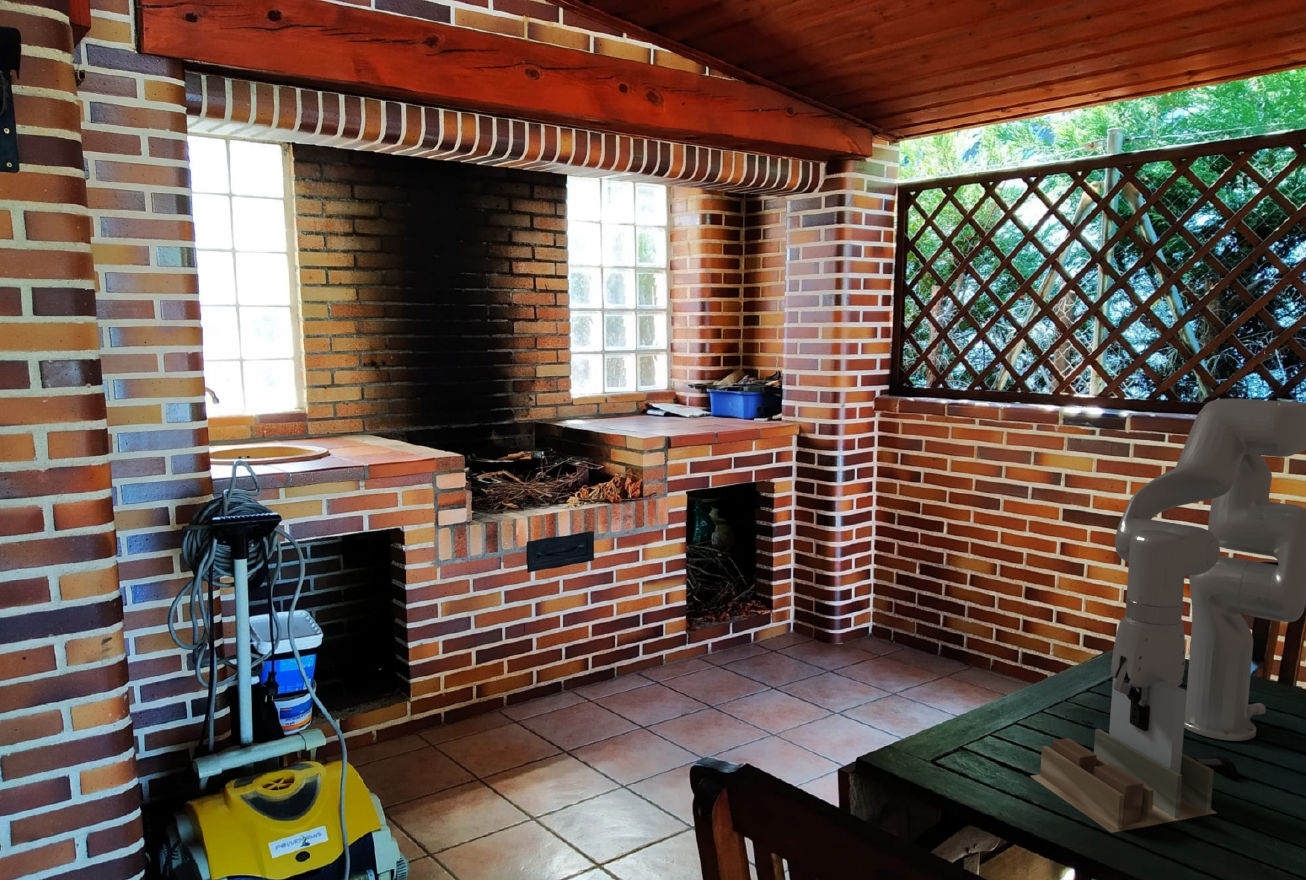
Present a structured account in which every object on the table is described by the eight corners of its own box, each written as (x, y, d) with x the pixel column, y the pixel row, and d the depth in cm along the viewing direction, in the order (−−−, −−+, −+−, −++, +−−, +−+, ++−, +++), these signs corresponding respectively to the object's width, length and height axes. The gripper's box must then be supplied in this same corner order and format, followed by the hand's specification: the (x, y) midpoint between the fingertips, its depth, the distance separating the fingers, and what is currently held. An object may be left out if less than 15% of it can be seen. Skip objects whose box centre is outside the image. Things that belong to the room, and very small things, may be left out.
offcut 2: (1109, 801, 136) (1111, 764, 135) (1140, 822, 130) (1143, 783, 130) (1091, 804, 135) (1094, 766, 135) (1122, 825, 130) (1125, 786, 129)
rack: (1126, 768, 150) (1129, 722, 149) (1216, 822, 133) (1220, 771, 132) (1029, 784, 144) (1032, 737, 143) (1111, 842, 128) (1114, 789, 127)
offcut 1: (1066, 773, 145) (1068, 738, 144) (1094, 792, 139) (1096, 755, 138) (1049, 776, 144) (1051, 740, 143) (1077, 795, 138) (1079, 757, 137)
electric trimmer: (1132, 770, 150) (1133, 752, 149) (1226, 769, 150) (1227, 751, 150) (1145, 782, 146) (1146, 763, 146) (1240, 780, 146) (1242, 762, 146)
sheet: (1117, 750, 147) (1124, 662, 145) (1179, 786, 136) (1187, 690, 134) (1107, 751, 147) (1114, 663, 145) (1168, 788, 135) (1176, 692, 133)
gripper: (1174, 600, 144) (1166, 710, 146) (1092, 609, 140) (1085, 722, 142) (1215, 614, 137) (1206, 730, 139) (1130, 624, 132) (1122, 743, 135)
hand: (1145, 725), depth 140 cm, fingers closed on sheet, 1 cm apart
